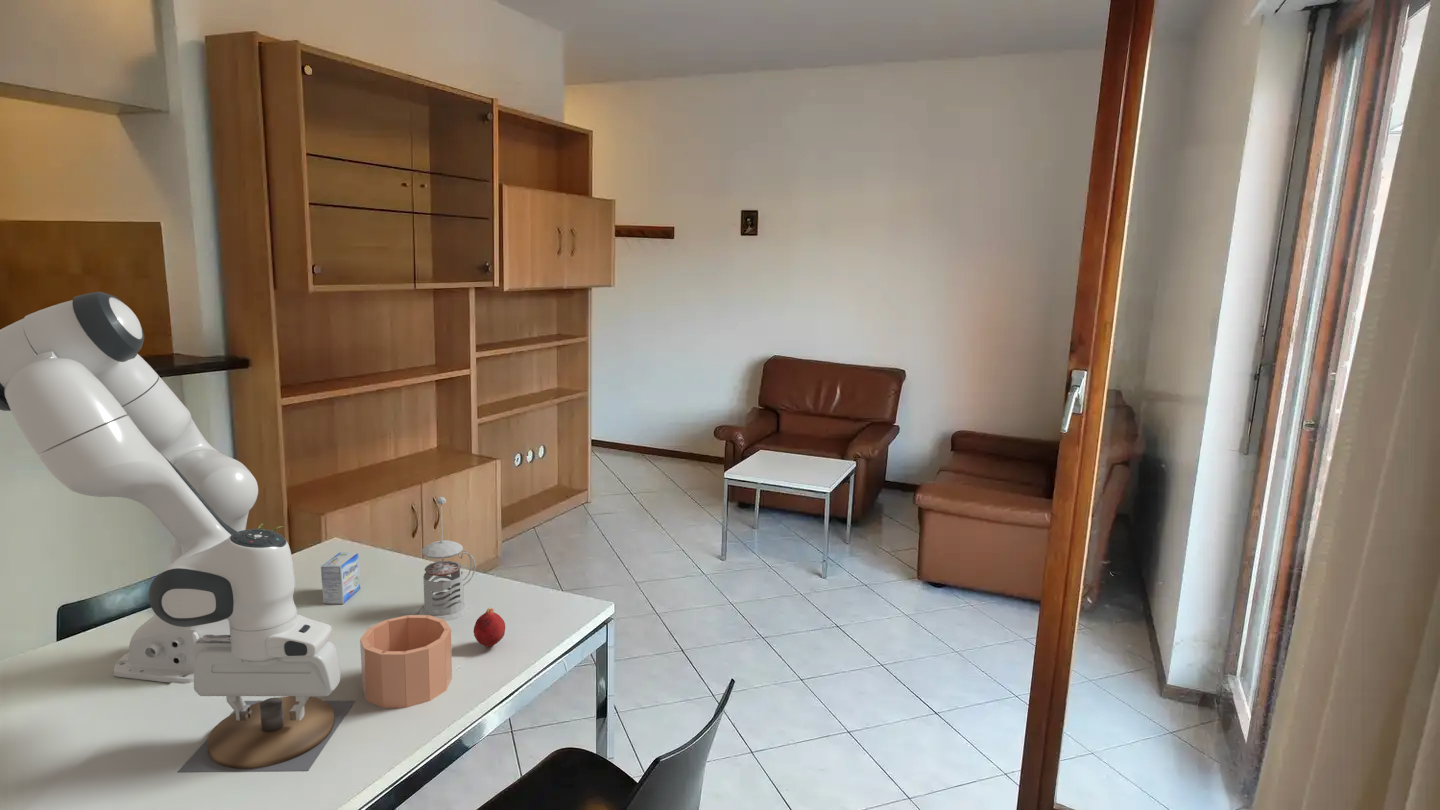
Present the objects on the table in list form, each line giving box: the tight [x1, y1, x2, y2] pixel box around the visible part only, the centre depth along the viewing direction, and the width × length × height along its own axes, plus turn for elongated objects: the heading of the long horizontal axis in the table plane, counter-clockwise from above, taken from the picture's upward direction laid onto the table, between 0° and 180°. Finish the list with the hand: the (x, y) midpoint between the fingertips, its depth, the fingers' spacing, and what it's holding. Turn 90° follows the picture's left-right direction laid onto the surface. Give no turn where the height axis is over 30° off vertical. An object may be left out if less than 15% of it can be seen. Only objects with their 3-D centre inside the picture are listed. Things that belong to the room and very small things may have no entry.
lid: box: [207, 696, 334, 769], centre depth 121 cm, size 17×17×5 cm
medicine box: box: [320, 551, 361, 605], centre depth 169 cm, size 8×4×9 cm, turn 179°
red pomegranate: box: [473, 607, 506, 649], centre depth 150 cm, size 6×6×8 cm
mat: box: [176, 700, 356, 773], centre depth 121 cm, size 18×18×1 cm
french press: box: [418, 496, 476, 622], centre depth 163 cm, size 10×12×25 cm
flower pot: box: [359, 614, 453, 709], centre depth 135 cm, size 14×14×10 cm
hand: (270, 718), depth 121 cm, fingers open, 6 cm apart
